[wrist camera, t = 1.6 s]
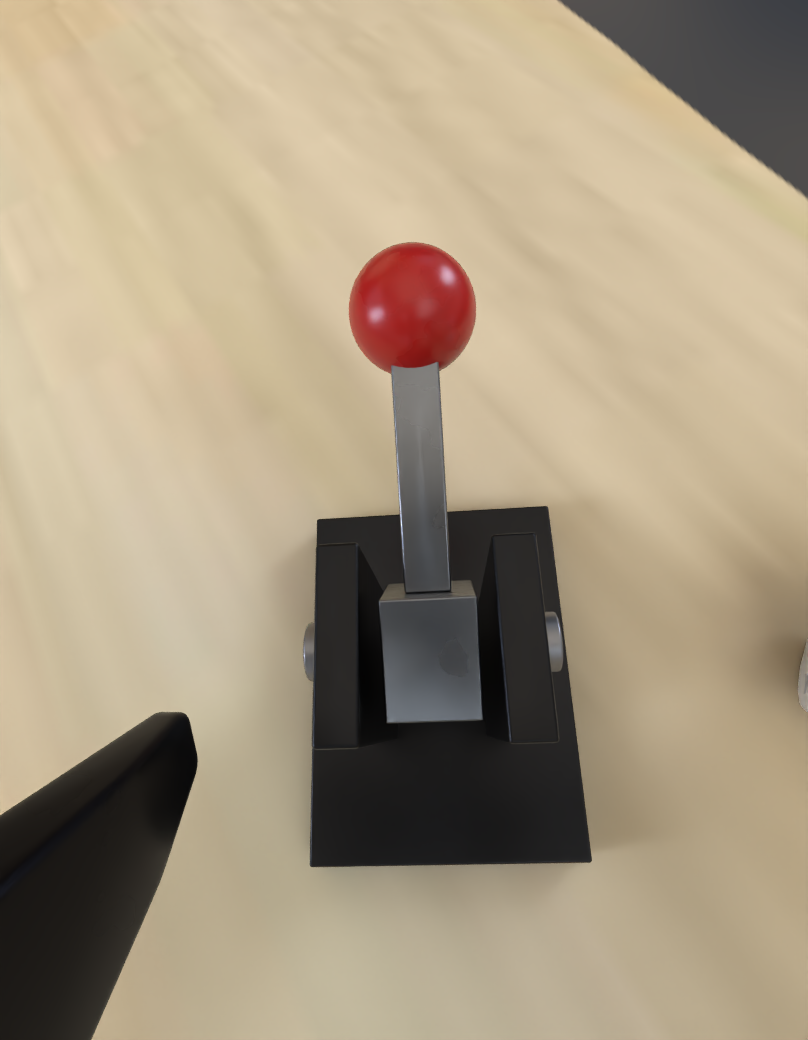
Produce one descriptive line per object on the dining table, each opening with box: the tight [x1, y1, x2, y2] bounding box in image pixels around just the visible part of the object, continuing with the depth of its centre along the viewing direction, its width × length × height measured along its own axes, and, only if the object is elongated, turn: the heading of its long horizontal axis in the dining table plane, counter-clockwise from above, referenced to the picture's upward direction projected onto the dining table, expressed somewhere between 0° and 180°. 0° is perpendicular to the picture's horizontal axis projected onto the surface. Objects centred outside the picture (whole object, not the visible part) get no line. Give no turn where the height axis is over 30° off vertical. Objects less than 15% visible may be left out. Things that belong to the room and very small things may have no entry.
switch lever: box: [349, 242, 484, 723], centre depth 14 cm, size 11×3×3 cm, turn 3°
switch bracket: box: [303, 506, 592, 867], centre depth 17 cm, size 12×9×10 cm
